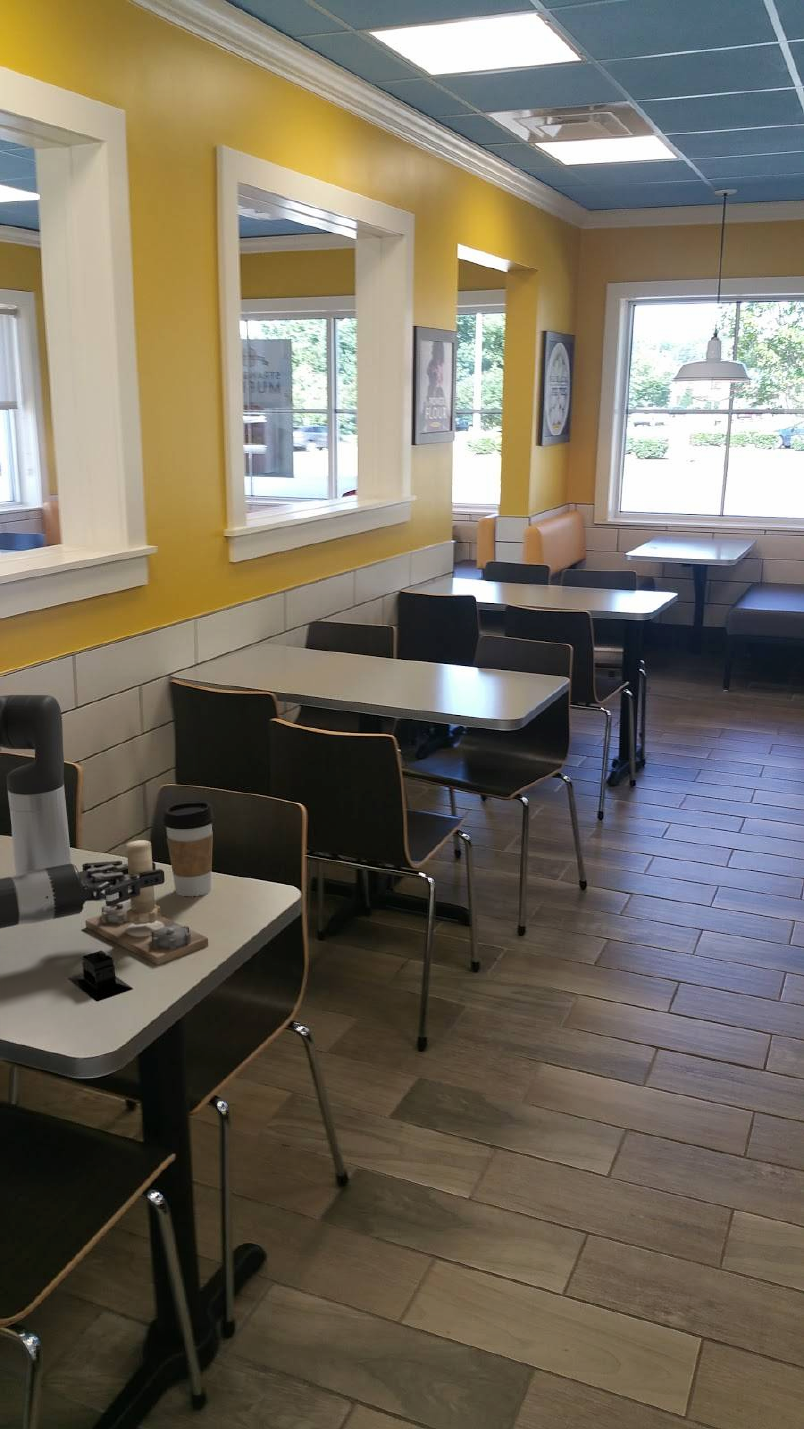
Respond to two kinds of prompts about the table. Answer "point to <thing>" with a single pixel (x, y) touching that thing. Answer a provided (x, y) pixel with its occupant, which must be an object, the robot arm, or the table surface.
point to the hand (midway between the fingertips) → (158, 871)
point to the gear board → (146, 934)
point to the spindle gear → (143, 904)
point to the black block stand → (99, 977)
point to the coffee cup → (190, 846)
